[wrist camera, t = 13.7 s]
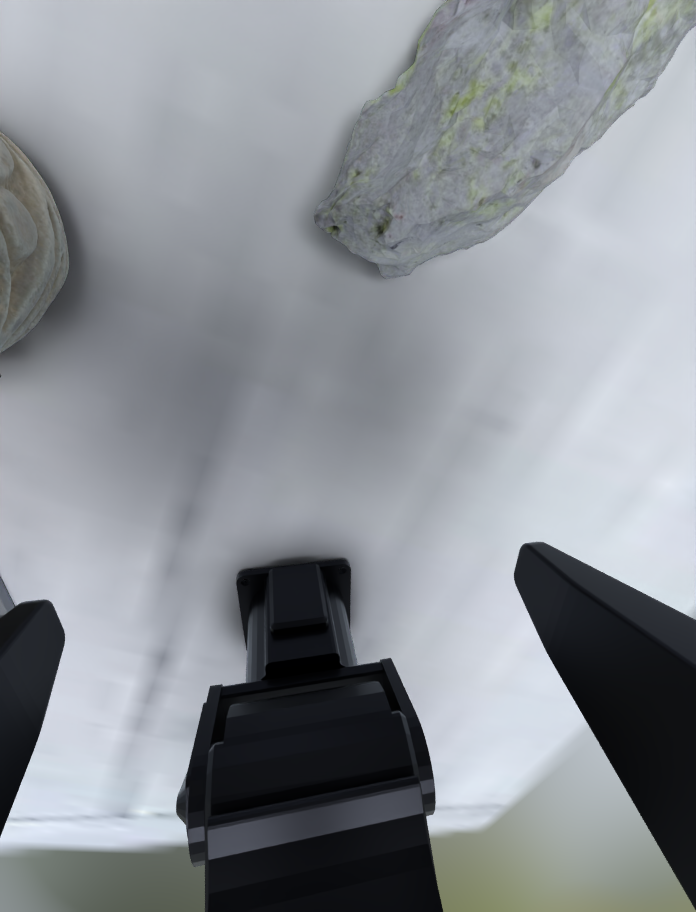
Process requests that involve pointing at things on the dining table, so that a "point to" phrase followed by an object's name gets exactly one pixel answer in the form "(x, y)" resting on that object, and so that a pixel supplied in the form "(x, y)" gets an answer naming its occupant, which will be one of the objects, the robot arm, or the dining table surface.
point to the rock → (491, 119)
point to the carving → (27, 245)
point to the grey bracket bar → (4, 600)
